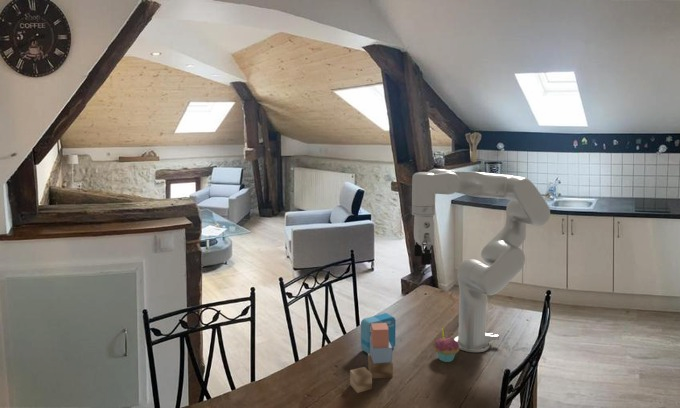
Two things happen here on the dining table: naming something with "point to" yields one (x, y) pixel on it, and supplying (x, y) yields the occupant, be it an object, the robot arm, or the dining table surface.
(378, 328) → the salmon orange block
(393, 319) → the data package
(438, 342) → the cupcake
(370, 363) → the tower base
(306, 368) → the dining table surface
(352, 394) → the dining table surface
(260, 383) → the dining table surface
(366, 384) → the block
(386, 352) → the tower top
